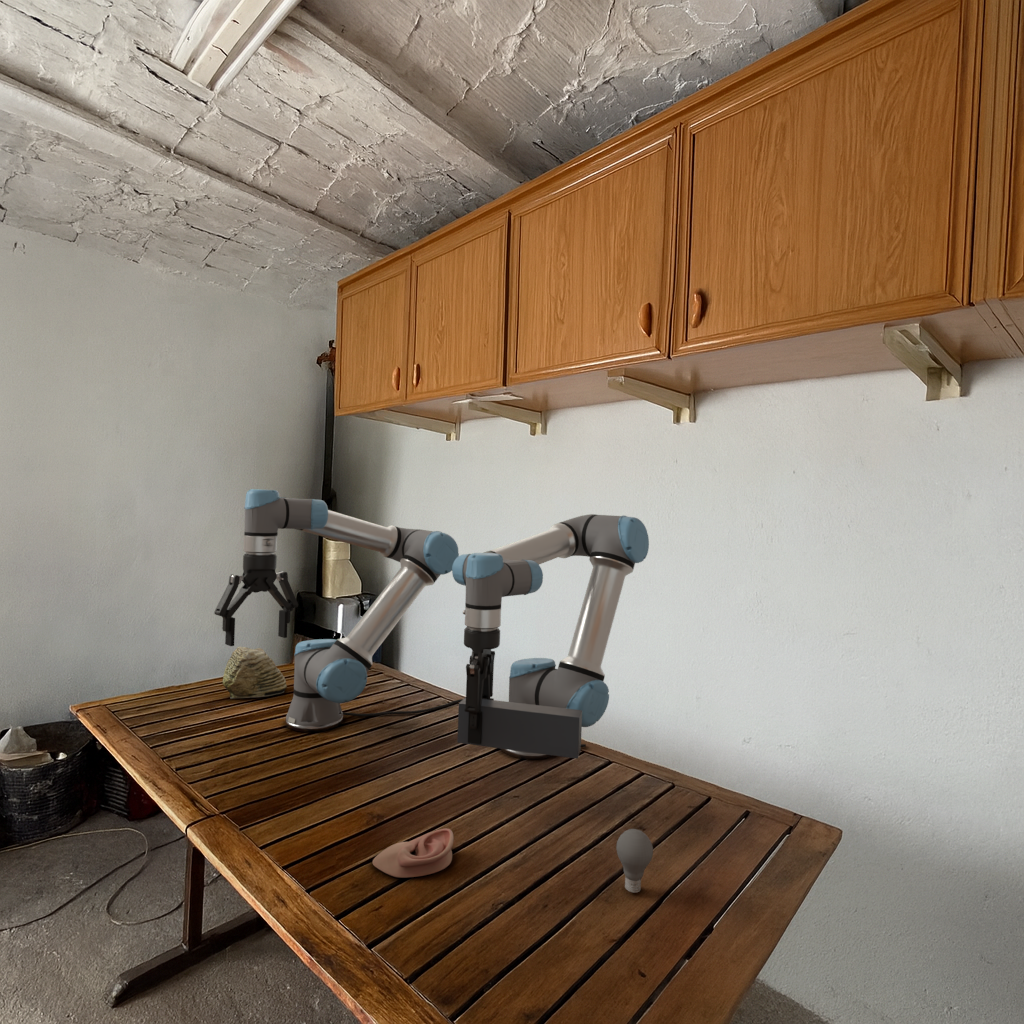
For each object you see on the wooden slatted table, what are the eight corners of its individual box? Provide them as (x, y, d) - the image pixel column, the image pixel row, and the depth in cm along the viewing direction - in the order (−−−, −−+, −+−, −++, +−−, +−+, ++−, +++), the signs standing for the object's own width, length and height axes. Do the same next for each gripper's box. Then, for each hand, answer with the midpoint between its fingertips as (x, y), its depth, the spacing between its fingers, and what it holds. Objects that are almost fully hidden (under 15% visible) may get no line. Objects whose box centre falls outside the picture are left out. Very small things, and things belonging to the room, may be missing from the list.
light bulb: (610, 879, 108) (613, 822, 108) (644, 879, 109) (647, 822, 109) (619, 902, 102) (622, 840, 102) (655, 901, 103) (658, 840, 103)
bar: (580, 750, 130) (582, 710, 130) (577, 758, 125) (579, 717, 125) (463, 734, 136) (465, 696, 135) (457, 742, 131) (458, 703, 131)
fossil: (218, 695, 195) (220, 647, 195) (278, 685, 208) (279, 640, 207) (228, 703, 189) (230, 653, 188) (289, 692, 201) (290, 645, 201)
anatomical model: (365, 849, 107) (391, 816, 119) (364, 872, 107) (390, 837, 119) (440, 861, 105) (459, 827, 116) (439, 885, 105) (459, 848, 116)
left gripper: (216, 556, 141) (213, 651, 141) (314, 552, 160) (311, 636, 160) (200, 553, 145) (197, 645, 146) (297, 550, 165) (294, 631, 165)
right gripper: (477, 618, 141) (473, 721, 142) (451, 634, 124) (447, 752, 125) (509, 621, 140) (505, 725, 140) (488, 637, 122) (483, 757, 123)
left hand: (257, 641), depth 153 cm, fingers open, 13 cm apart
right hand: (478, 737), depth 133 cm, fingers closed on bar, 5 cm apart
